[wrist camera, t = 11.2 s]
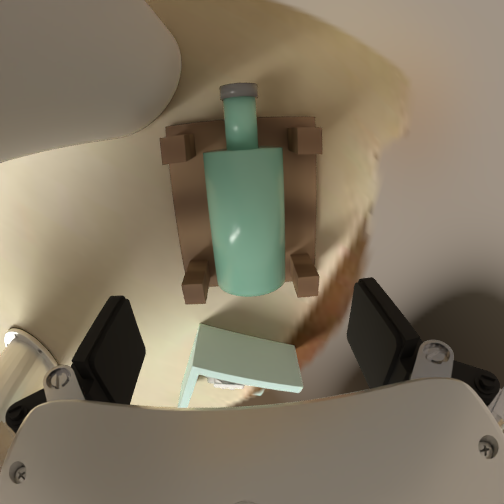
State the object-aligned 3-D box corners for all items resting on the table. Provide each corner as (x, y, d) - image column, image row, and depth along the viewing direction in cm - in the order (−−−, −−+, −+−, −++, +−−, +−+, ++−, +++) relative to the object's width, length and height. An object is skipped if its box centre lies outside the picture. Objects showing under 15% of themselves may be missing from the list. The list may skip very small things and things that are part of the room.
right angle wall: (182, 379, 37) (175, 421, 30) (200, 320, 32) (192, 366, 26) (260, 395, 39) (263, 436, 32) (293, 342, 34) (303, 387, 28)
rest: (311, 274, 30) (324, 304, 25) (189, 282, 29) (180, 313, 24) (312, 117, 23) (330, 114, 18) (168, 126, 23) (149, 126, 18)
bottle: (277, 259, 28) (292, 291, 22) (216, 265, 27) (217, 300, 22) (270, 90, 21) (287, 78, 16) (200, 94, 21) (195, 82, 15)
